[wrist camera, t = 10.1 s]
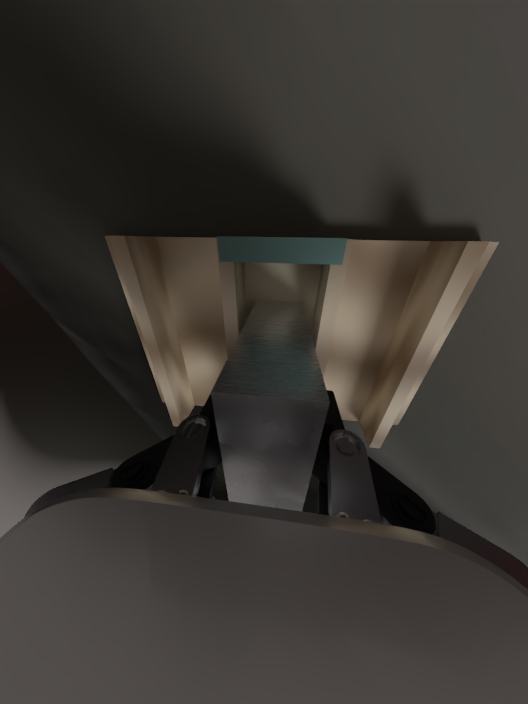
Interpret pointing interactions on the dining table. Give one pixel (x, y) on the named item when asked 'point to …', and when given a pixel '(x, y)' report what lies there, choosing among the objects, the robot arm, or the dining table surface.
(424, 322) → the bay rack
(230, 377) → the grey rectangular block
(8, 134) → the dining table surface
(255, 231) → the dining table surface
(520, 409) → the dining table surface
